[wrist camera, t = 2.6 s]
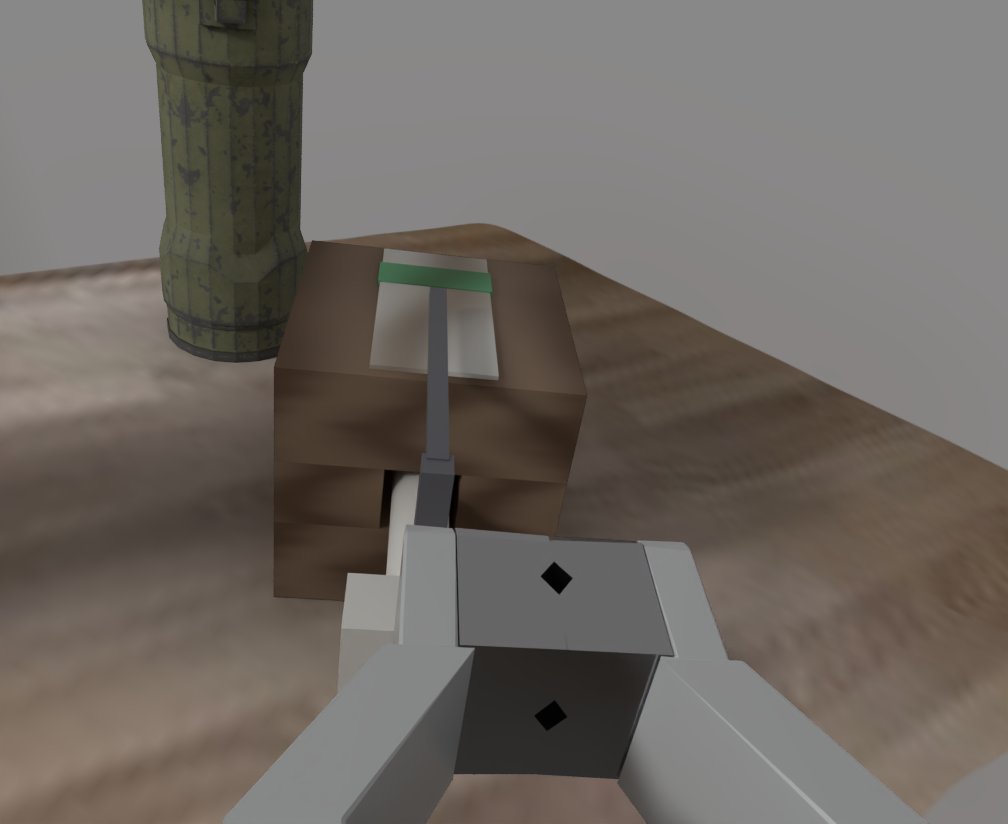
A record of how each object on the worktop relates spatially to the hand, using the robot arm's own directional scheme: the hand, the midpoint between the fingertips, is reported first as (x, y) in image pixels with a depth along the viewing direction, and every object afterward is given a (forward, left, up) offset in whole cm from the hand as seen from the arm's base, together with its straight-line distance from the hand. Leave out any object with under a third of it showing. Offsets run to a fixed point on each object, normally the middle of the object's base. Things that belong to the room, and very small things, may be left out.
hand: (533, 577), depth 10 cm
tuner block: (0, +28, -23) cm, 37 cm away
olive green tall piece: (-12, +46, -23) cm, 53 cm away
